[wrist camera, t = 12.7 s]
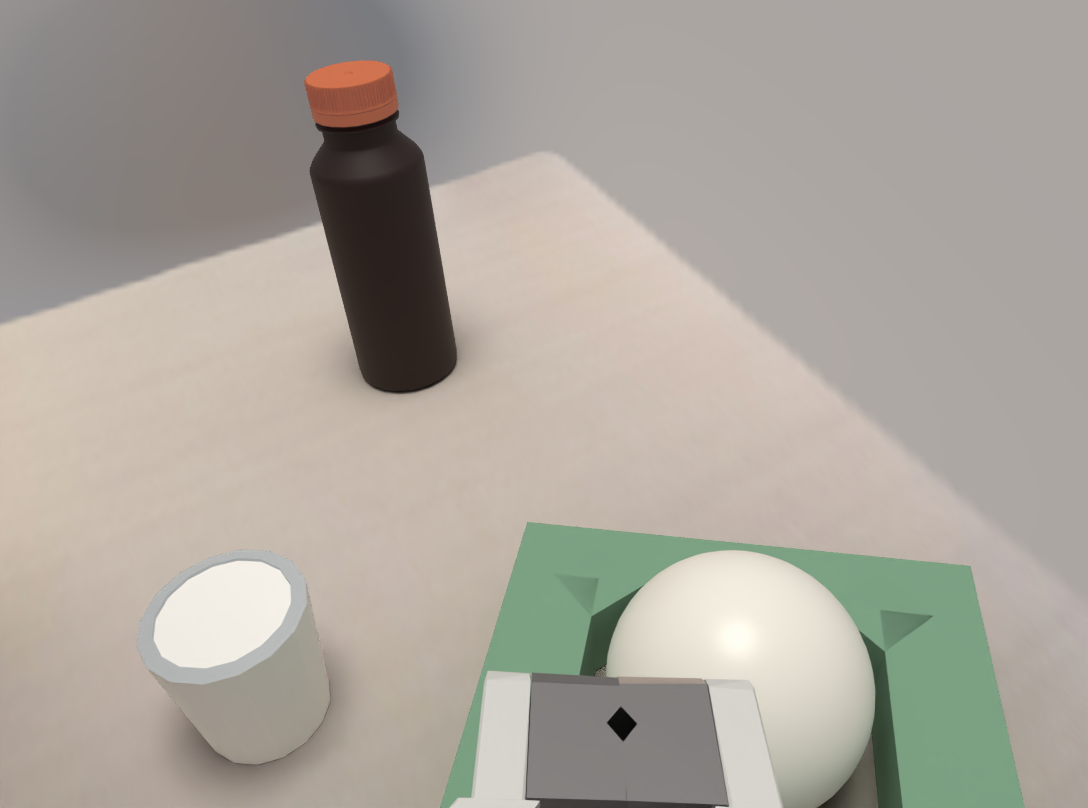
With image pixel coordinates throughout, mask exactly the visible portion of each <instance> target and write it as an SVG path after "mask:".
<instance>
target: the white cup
mask: <svg viewBox="0 0 1088 808" xmlns="http://www.w3.org/2000/svg"><path fill="white" fill-rule="evenodd" d="M137 648H138V650H139V652H140V655H141V657H142V659H143V661H144V663H145V665H146V668H147V669H148V670H149V672H150V673H151V674H152V675H153V676H154V678H155V679H156V680H157V681H158V682H159V684H160V685H161V686H162V687H163V688H164V690H165V691H166V692H167V693H168V694H169V696H170V697H171V698H172V699H173V700H174V702H175V703H176V704H177V705H178V707H179V708H180V709H181V710H182V711H183V713H184V714H185V715H186V716H187V717H188V719H189V720H190V721H191V722H192V723H193V725H194V726H195V727H196V728H197V729H198V731H199V732H200V733H201V734H202V736H203V737H204V738H205V739H206V740H207V742H208V743H209V744H210V745H211V746H212V748H213V749H214V750H215V751H216V752H217V753H219V754H220V755H222V756H224V757H225V758H227V759H228V760H230V761H232V762H233V763H242V764H254V765H258V764H262V763H266V762H269V761H273V760H276V759H280V758H283V757H285V756H286V755H288V754H289V753H291V752H292V751H294V750H295V749H297V748H298V747H300V746H301V745H303V744H305V743H306V742H307V741H308V739H309V738H310V737H311V736H312V735H313V733H314V732H315V731H316V730H317V729H318V727H319V726H320V725H321V724H322V723H323V720H324V717H325V714H326V712H327V709H328V706H329V703H330V689H329V679H328V675H327V671H326V666H325V662H324V658H323V653H322V649H321V645H320V640H319V636H318V631H317V627H316V623H315V618H314V614H313V610H312V605H311V601H310V597H309V592H308V588H307V584H306V579H305V578H304V577H303V575H302V574H301V572H300V571H299V570H298V568H297V567H296V566H295V564H294V563H293V561H291V560H289V559H286V558H284V557H282V556H280V555H278V554H275V553H273V552H271V551H260V550H238V551H234V552H229V553H225V554H221V555H217V556H213V557H210V558H208V559H206V560H204V561H202V562H200V563H198V564H196V565H194V566H192V567H190V568H188V569H186V570H185V571H183V572H181V573H180V574H178V575H177V576H176V577H175V578H174V579H173V580H172V581H171V582H169V583H168V584H167V585H166V586H165V587H164V588H163V589H162V590H160V591H159V592H158V593H157V594H156V595H155V597H154V599H153V600H152V602H151V603H150V605H149V607H148V608H147V610H146V612H145V613H144V615H143V617H142V618H141V620H140V626H139V633H138V640H137Z"/></svg>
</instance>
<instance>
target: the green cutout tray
mask: <svg viewBox="0 0 1088 808" xmlns="http://www.w3.org/2000/svg"><path fill="white" fill-rule="evenodd" d="M724 550H741V551H750V552H756V553H761V554H764V555H768V556H771V557H774V558H777V559H780V560H783V561H785V562H788V563H790V564H792V565H794V566H795V567H797V568H799V569H801V570H802V571H804V572H806V573H807V574H809V575H811V576H812V577H813V578H815V579H816V580H817V581H818V582H820V583H821V584H822V585H823V586H824V587H826V588H827V589H828V590H829V591H830V592H831V593H832V594H833V595H834V596H835V597H836V599H837V600H838V601H839V602H840V603H841V604H842V605H843V607H844V608H845V609H846V611H847V612H848V614H849V615H850V617H851V618H852V620H853V621H854V623H855V625H856V626H857V628H858V630H859V633H860V635H861V637H862V639H863V641H864V644H865V646H866V648H867V651H868V654H869V658H870V661H871V665H872V670H873V676H874V683H875V714H874V721H873V726H872V739H873V750H874V761H875V771H876V782H877V793H878V804H879V808H1025V807H1024V802H1023V798H1022V793H1021V789H1020V784H1019V780H1018V775H1017V771H1016V767H1015V762H1014V758H1013V753H1012V749H1011V744H1010V740H1009V735H1008V731H1007V727H1006V722H1005V718H1004V713H1003V709H1002V704H1001V700H1000V695H999V691H998V687H997V682H996V678H995V673H994V669H993V664H992V660H991V655H990V651H989V646H988V642H987V638H986V633H985V629H984V624H983V620H982V615H981V611H980V606H979V602H978V598H977V593H976V589H975V584H974V580H973V575H972V571H971V566H965V565H955V564H945V563H935V562H924V561H914V560H904V559H894V558H884V557H874V556H864V555H854V554H844V553H834V552H824V551H813V550H803V549H793V548H783V547H773V546H763V545H753V544H743V543H733V542H723V541H713V540H703V539H692V538H682V537H672V536H662V535H652V534H642V533H632V532H622V531H612V530H602V529H592V528H581V527H571V526H561V525H551V524H541V523H531V522H527V525H526V528H525V532H524V535H523V538H522V541H521V545H520V548H519V551H518V554H517V558H516V561H515V564H514V568H513V571H512V574H511V577H510V581H509V584H508V587H507V590H506V594H505V597H504V600H503V604H502V607H501V610H500V613H499V617H498V620H497V623H496V626H495V630H494V633H493V636H492V640H491V643H490V646H489V649H488V653H487V656H486V659H485V662H484V666H483V669H482V672H481V676H480V679H479V682H478V685H477V689H476V692H475V695H474V698H473V702H472V705H471V708H470V712H469V715H468V718H467V721H466V725H465V728H464V731H463V734H462V738H461V741H460V744H459V748H458V751H457V754H456V757H455V761H454V764H453V767H452V770H451V774H450V777H449V780H448V784H447V787H446V790H445V793H444V797H443V800H442V803H441V806H440V808H449V807H450V806H451V805H452V804H453V803H454V801H455V800H456V799H457V798H471V796H472V787H473V778H474V769H475V760H476V751H477V742H478V733H479V724H480V715H481V706H482V697H483V688H484V681H485V678H486V675H487V672H488V671H502V672H520V673H531V686H532V673H549V674H566V675H582V676H594V674H595V671H596V670H598V669H600V668H601V667H603V666H604V665H606V664H607V655H608V651H609V647H610V643H611V639H612V636H613V633H614V631H615V628H616V626H617V623H618V621H619V619H620V617H621V615H622V614H623V612H624V610H625V609H626V607H627V605H628V604H629V602H630V601H631V599H632V598H633V597H634V596H635V595H636V594H637V592H638V591H639V590H640V589H641V588H642V587H643V586H644V585H645V584H646V583H647V582H648V581H649V580H651V579H652V578H653V577H654V576H655V575H657V574H658V573H659V572H661V571H663V570H664V569H666V568H668V567H669V566H671V565H673V564H675V563H677V562H679V561H681V560H684V559H686V558H689V557H692V556H695V555H698V554H702V553H707V552H714V551H724Z"/></svg>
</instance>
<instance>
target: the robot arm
mask: <svg viewBox="0 0 1088 808" xmlns="http://www.w3.org/2000/svg"><path fill="white" fill-rule="evenodd" d="M449 808H783V804H782V800H781V796H780V792H779V788H778V784H777V780H776V776H775V772H774V767H773V763H772V759H771V755H770V751H769V747H768V743H767V739H766V735H765V730H764V726H763V722H762V718H761V714H760V710H759V706H758V702H757V698H756V694H755V689H754V687H753V685H752V684H751V683H750V681H749V680H728V679H705V680H703V679H702V678H662V677H618V676H617V678H616V677H599V676H582V675H566V674H549V673H532V686H531V673H520V672H502V671H488V672H487V675H486V678H485V681H484V688H483V697H482V706H481V715H480V724H479V733H478V742H477V751H476V760H475V769H474V778H473V787H472V796H471V798H457V799H456V800H455V801H454V803H453V804H452V805H451V806H450V807H449Z"/></svg>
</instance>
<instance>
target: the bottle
mask: <svg viewBox="0 0 1088 808" xmlns="http://www.w3.org/2000/svg"><path fill="white" fill-rule="evenodd" d="M304 83H305V87H306V91H307V95H308V100H309V104H310V108H311V112H312V116H313V119H314V121H315V122H316V127H317V129H318V130H319V131H321V132H322V133H323V137H324V143H323V144H322V146H321V147H320V149H319V151H318V152H317V154H316V156H315V157H314V159H313V161H312V164H311V167H310V176H311V180H312V184H313V187H314V191H315V195H316V199H317V203H318V207H319V211H320V215H321V219H322V223H323V226H324V230H325V234H326V238H327V242H328V246H329V250H330V254H331V258H332V262H333V265H334V269H335V273H336V277H337V281H338V285H339V289H340V293H341V297H342V300H343V304H344V308H345V312H346V316H347V320H348V324H349V328H350V332H351V335H352V339H353V343H354V347H355V351H356V355H357V359H358V363H359V367H360V370H361V372H362V375H363V377H364V378H365V380H367V381H368V382H369V383H370V384H372V385H373V386H376V387H378V388H381V389H384V390H390V391H409V390H416V389H419V388H423V387H426V386H429V385H431V384H433V383H435V382H437V381H439V380H441V379H442V378H443V377H444V376H445V375H446V374H447V373H449V372H450V371H451V370H452V368H453V366H454V364H455V362H456V353H457V350H456V344H455V338H454V332H453V326H452V320H451V314H450V308H449V302H448V296H447V291H446V285H445V279H444V273H443V267H442V261H441V255H440V249H439V243H438V237H437V231H436V226H435V220H434V214H433V208H432V202H431V196H430V190H429V184H428V178H427V172H426V166H425V161H424V155H423V153H422V151H421V149H420V148H419V147H418V146H417V144H416V143H415V142H414V141H412V140H411V139H410V138H408V137H407V136H405V135H404V134H403V133H401V132H400V131H399V130H398V129H397V125H396V120H397V119H398V117H399V111H398V99H397V94H396V89H395V83H394V79H393V72H392V69H391V67H390V66H388V65H387V64H385V63H382V62H377V61H352V62H344V63H338V64H333V65H330V66H327V67H323V68H321V69H318V70H316V71H314V72H312V73H311V74H310V75H308V76H307V78H306V79H305V81H304Z"/></svg>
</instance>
